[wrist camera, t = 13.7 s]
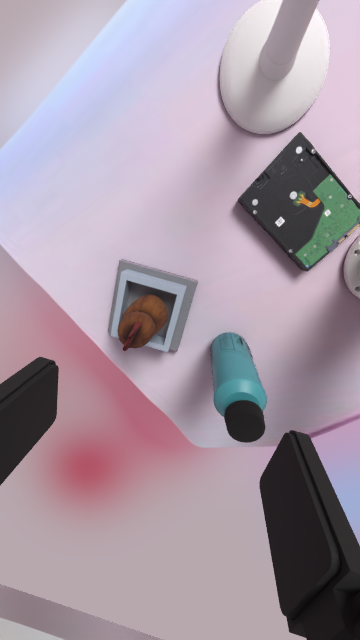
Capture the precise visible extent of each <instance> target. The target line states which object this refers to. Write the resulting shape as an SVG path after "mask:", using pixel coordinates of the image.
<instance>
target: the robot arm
mask: <svg viewBox="0 0 360 640" xmlns="http://www.w3.org/2000/svg"><path fill="white" fill-rule="evenodd" d="M354 252H355V253H354ZM343 271H344V279H345V283H346V285H347V287H348V289H349V290H350V291H351V292H352V293H353V294H354V295H355V296H356V297H358V298H359V299H360V236H359V237H358V238H357V239H356V240H355V242H354V243H353V244H352V246H351V248H350V249H349V251H348V253H347V256H346V259H345V262H344V268H343ZM355 288H356V289H355ZM57 392H58V366H57V365H56V364H55V361H53V360H49V359H46V358H43V357H39V358H37V359H35V360H34V361H32V362H31V363H30V364H28V365H27V366H25V367H24V368H22V369H21V370H20V371H18V372H17V373H15V374H14V375H13V376H11V377H10V378H8V379H7V380H5V381H4V382H3V383H1V384H0V485H1V484H2V483H3V482H4V481H5V479H6V478H7V477H8V476H9V475H10V473H11V472H12V471H13V470H14V469H15V468H16V466H17V465H18V464H19V463H20V462H21V461H22V459H23V458H24V457H25V456H26V455H27V453H28V452H29V451H30V450H31V449H32V448H33V446H34V445H35V444H36V443H37V442H38V440H39V439H40V438H41V437H42V436H43V435H44V433H45V432H46V431H47V430H48V429H49V428H50V426H51V425H52V424H53V422H54V421H55V419H56V415H57ZM260 492H261V498H262V503H263V509H264V515H265V521H266V527H267V533H268V538H269V544H270V550H271V556H272V562H273V568H274V574H275V580H276V585H277V591H278V597H279V603H280V608H281V611H282V613H283V615H284V616H286V617H287V622H288V627H289V632H290V633H293V634H296V635H299V636H302V637H305V638H307V640H360V546H359V544H358V542H357V539H356V537H355V535H354V533H353V530H352V528H351V526H350V524H349V522H348V520H347V517H346V515H345V513H344V511H343V509H342V506H341V504H340V502H339V500H338V498H337V495H336V493H335V491H334V489H333V487H332V484H331V482H330V480H329V478H328V476H327V474H326V471H325V469H324V467H323V465H322V463H321V460H320V459H319V456H318V454H317V452H316V450H315V447H314V445H313V443H312V441H311V438H310V437H309V436H308V435H307V434H304V433H300V432H297V431H293V430H291V431H290V432H289V433H285V434H284V436H283V438H282V439H281V441H280V443H279V445H278V447H277V449H276V451H275V452H274V454H273V456H272V458H271V459H270V461H269V463H268V465H267V467H266V469H265V470H264V472H263V474H262V476H261V479H260ZM0 640H162V639H159V638H156V637H154V636H151V635H148V634H144V633H142V632H139V631H136V630H133V629H130V628H127V627H124V626H122V625H118V624H116V623H113V622H110V621H107V620H104V619H101V618H98V617H95V616H93V615H90V614H87V613H84V612H81V611H78V610H75V609H72V608H69V607H66V606H63V605H61V604H58V603H55V602H52V601H49V600H46V599H43V598H40V597H37V596H34V595H31V594H28V593H25V592H22V591H19V590H16V589H13V588H10V587H7V586H4V585H1V584H0Z"/></svg>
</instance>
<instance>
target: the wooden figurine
mask: <svg viewBox="0 0 360 640" xmlns="http://www.w3.org/2000/svg"><path fill="white" fill-rule="evenodd" d="M167 321H168V309H167V307H166V305H165V303H164V302H163V301H162V299H161V298H159V297H157V296H156V295H150V294H147V295H144V296H142V297H140V298H138V299H137V300H135V301H134V302H133V303H132V304H131V305H130V306H129V307H128V308H127V309H126V311H125V312H124V314H123V316H122V321H121V322H120V324H119V327H118V337H119V340H120V341H121V342H122V343H123V344H124V347H123V350H124V351H126V350H127V349H128V348H129V347H130V348H139V347H142V346H144V345H146V344H147V343H148V342H149V341H150V340H151V339H152V337H153V335H155V334H156V333H158V332H159V331H160V330H161V329H162V327H163V326H164V325H165V324H166V322H167Z"/></svg>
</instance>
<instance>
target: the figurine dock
mask: <svg viewBox="0 0 360 640" xmlns="http://www.w3.org/2000/svg"><path fill="white" fill-rule="evenodd" d="M197 283H198V281H197V280H193V279H190V278H186V277H183V276H179V275H176V274H172V273H169V272H165V271H162V270H158V269H155V268H151V267H148V266H144V265H141V264H137V263H133V262H130V261H126V260H123V259H122V260H119V267H118V273H117V279H116V285H115V291H114V297H113V303H112V309H111V316H110V322H109V328H108V332H111V335H110V336H112V337H116V338H119V337H118V327H119V324H120V322H121V321H122V316H123V314H124V312H125V311H126V309H127V308H128V307H129V306H130V305H131V304H132V303H133V302H134V301H135V300H137V299H138V298H140V297H142V296H144V295H147V294H150V295H156V296H157V297H159V298H161V299H162V301H163V302H164V303H165V305H166V307H167V309H168V321H167V322H166V324H165V325H164V326H163V327H162V329H161V330H160V331H159V332H158V333H156V334H155V335H153V337H152V339H151V340H150V341H149V342H148V343H147V344H146V345H144V346H147V347H151V348H154V349H158V350H161V351H165V352H168V351H169V349H170V350H174V351H178V347H179V344H180V340H181V337H182V334H183V330H184V327H185V323H186V320H187V317H188V313H189V310H190V306H191V303H192V300H193V296H194V293H195V289H196V286H197Z"/></svg>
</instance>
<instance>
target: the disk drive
mask: <svg viewBox="0 0 360 640" xmlns="http://www.w3.org/2000/svg"><path fill="white" fill-rule="evenodd" d="M238 202H240V204H241V205H242V206H243V207H244V209H245V210H246V211H247V212H248V213H249V214H251V215H252V217H253V218H254V219H255V220H256V221H257V222H258V223H259V224H260V225H261V226H262V227H263V228H264V230H266V232H267V233H268V234H269V235H270V236H271V237H272V238H273V239H274V240H275V241H276V242H277V244H278V245H279V246H280V247H281V248H282V249H283V250H284V251H285V252H286V253H287V254H288V256H289V257H290V258H291V259H292V260H293V261H294V262H295V263H296V264H297V265H298V267H300V269H302V270H304V271H309V270H310V269H311V268H312V267H314V266H315V265H316V264H317V263H318V262H319V261H320V260H322V259H323V258H324V257H325V256H326V255H328V254H329V252H331V251H333V250H334V249H335V248H336V247H337V246H338V244H339V243H341V242H342V241H343V240H344V239H346V238H345V237H348V236H349V235H350V234H351V233H352V232H353V231H355V230H356V229H357V228H358V227H359V226H360V203H359V202H358V201H357V200H356V199H355V198H354V197H353V195H352V194H351V193H350V192H349V191H348V189H347V188H346V187H345V186H344V184H343V183H342V182H341V180H340V179H339V178H338V177H337V176H336V174H335V173H334V172H333V171H332V170H331V168H330V167H329V166H328V165H327V163H326V162H325V161H324V160H323V159H322V157H321V156H320V155H319V153H318V152H317V151H316V150H315V148H314V147H313V145H312V144H311V143H310V142H309V141H308V140H307V139H306V138H305V136H304V135H303V134H302V133H301V132H299V133H298V134H297V135H296V136H295V137H294V138H293V139H292V141H291V142H290V143H289V144H288V145H287V146H286V147H285V148H284V149H283V150H282V152H281V153H280V154H279V155H278V156H277V157H276V158H275V159H274V160H273V161H272V163H271V164H270V165H269V166H268V167H267V168H266V169H265V170H264V171H263V172H262V174H261V175H260V176H259V177H258V178H257V179H256V180H255V181H254V182H253V183H252V184H251V185H250V187H249V188H248V189H247V190H246V191H245V192H244V193H243V194H242V195H241V197H240V198H239V199H238Z"/></svg>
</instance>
